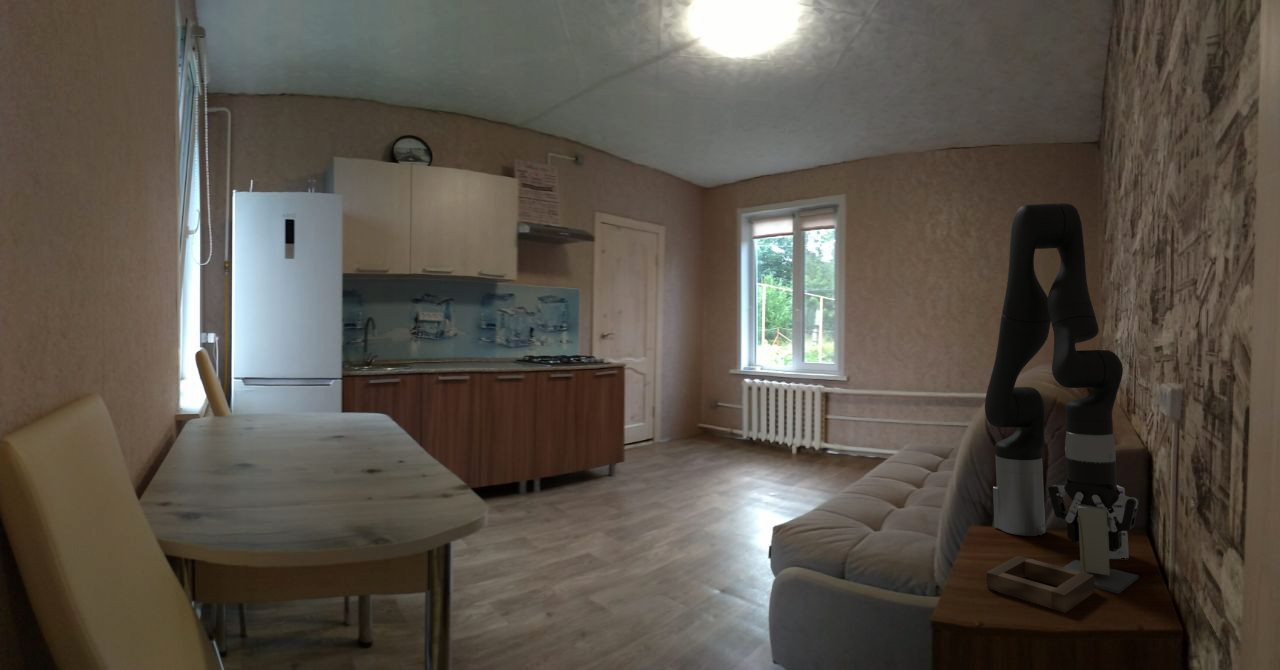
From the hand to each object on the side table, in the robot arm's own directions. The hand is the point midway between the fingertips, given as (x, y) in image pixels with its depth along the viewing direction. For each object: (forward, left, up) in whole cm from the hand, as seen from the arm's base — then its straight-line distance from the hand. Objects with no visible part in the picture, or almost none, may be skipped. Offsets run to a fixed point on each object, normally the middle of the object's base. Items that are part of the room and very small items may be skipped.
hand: (1094, 545), depth 111 cm
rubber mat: (0, 0, -6) cm, 6 cm away
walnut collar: (-4, -14, -6) cm, 15 cm away
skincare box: (0, 0, -4) cm, 4 cm away
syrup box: (-3, +14, -6) cm, 16 cm away
